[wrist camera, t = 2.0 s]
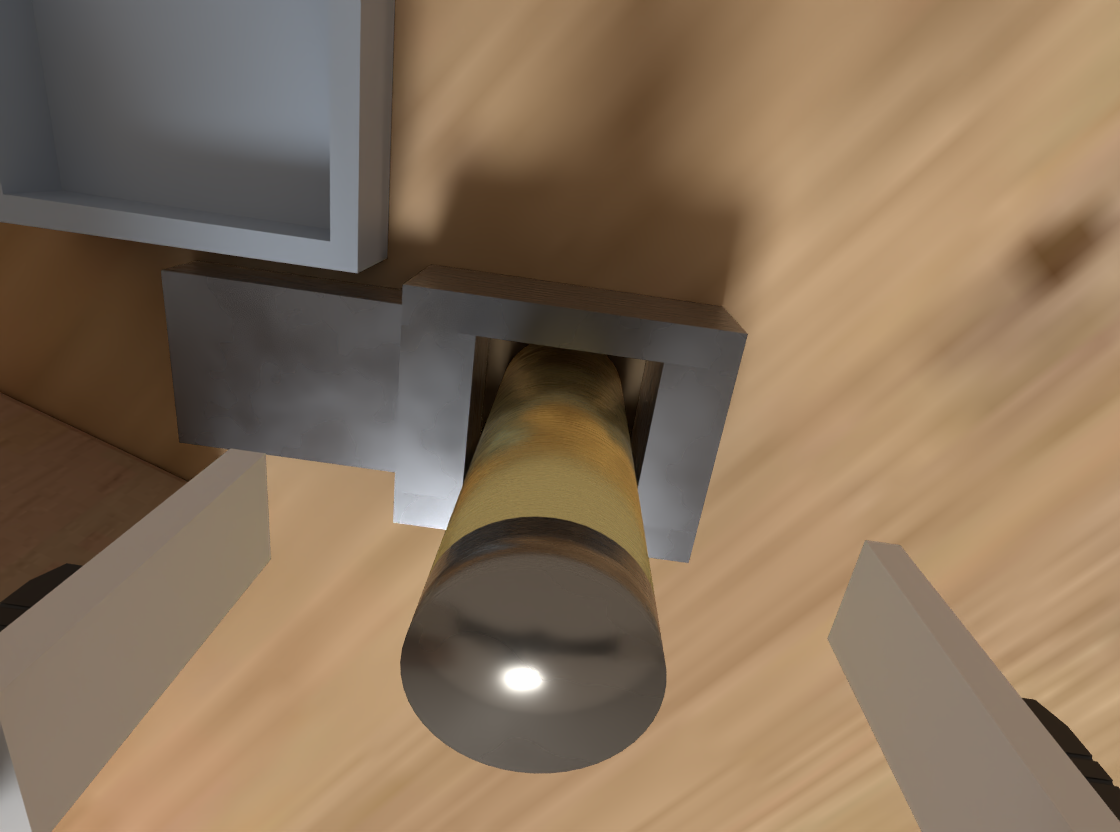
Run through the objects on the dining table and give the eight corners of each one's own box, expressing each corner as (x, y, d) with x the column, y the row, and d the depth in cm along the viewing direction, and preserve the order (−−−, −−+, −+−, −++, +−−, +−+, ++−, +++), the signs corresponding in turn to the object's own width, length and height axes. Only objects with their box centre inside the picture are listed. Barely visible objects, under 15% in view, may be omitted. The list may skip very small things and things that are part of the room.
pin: (495, 440, 24) (395, 755, 11) (507, 327, 22) (405, 550, 9) (611, 456, 24) (639, 787, 11) (631, 345, 22) (693, 589, 10)
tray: (60, 210, 21) (-20, 218, 18) (-9, -216, 17) (-126, -289, 14) (387, 258, 21) (357, 273, 18) (399, -153, 17) (363, -212, 14)
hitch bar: (212, 444, 24) (153, 489, 21) (194, 230, 21) (121, 243, 18) (674, 507, 24) (688, 562, 21) (722, 306, 21) (747, 333, 18)
